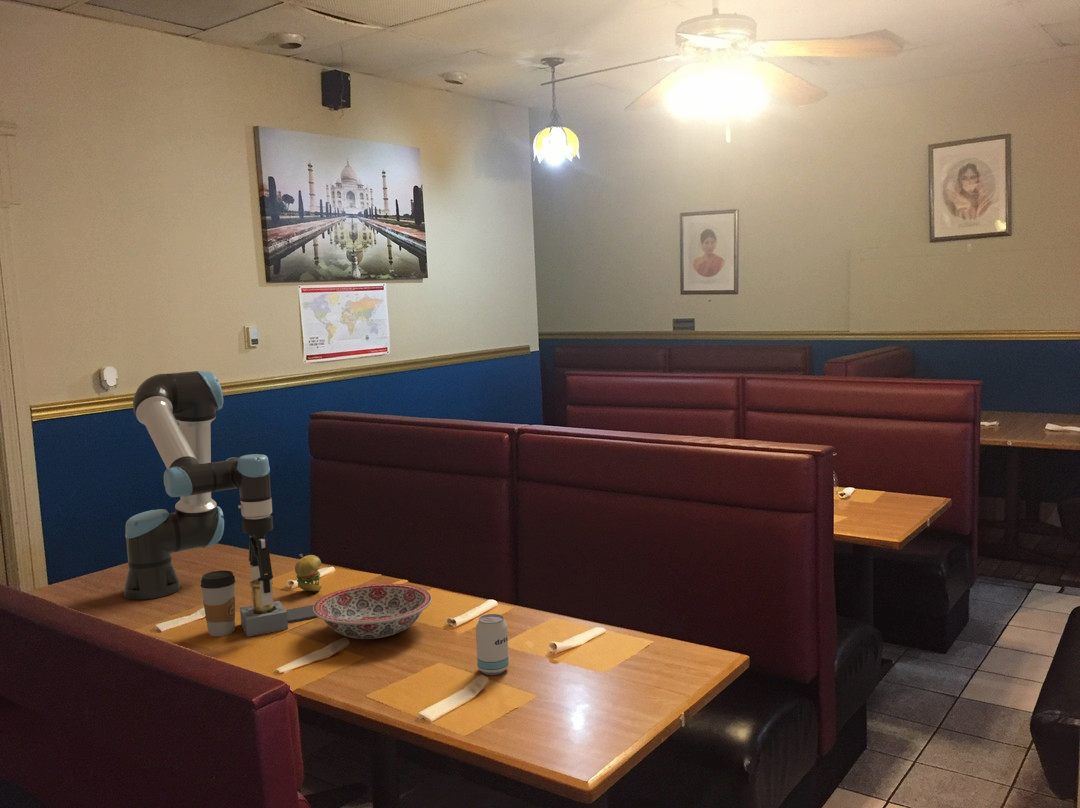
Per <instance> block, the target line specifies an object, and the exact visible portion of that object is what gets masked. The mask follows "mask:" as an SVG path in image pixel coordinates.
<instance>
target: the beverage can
mask: <svg viewBox="0 0 1080 808" xmlns="http://www.w3.org/2000/svg"><path fill="white" fill-rule="evenodd" d="M508 630H509V629H508V624H507V622H506V620H505V617H504V615H502V614H499V613H488V614H483V615H481V616H480V617H478V621H477V624H476V625H475V635H476V637H475V638H476V660H477V661H476V663H477V669H478V670H479V671H480V672H482V673H483V674H485V675H488V676H497V675H500V674H502V673H504V672H505V671H506V670H507V669H508V668H509V666H510V665H509V663H510V659H509V638H508V637H509V634H508V633H509V632H508Z"/></svg>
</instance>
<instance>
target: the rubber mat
mask: <svg viewBox="0 0 1080 808" xmlns="http://www.w3.org/2000/svg"><path fill="white" fill-rule="evenodd" d="M313 606H314V604H311V605H306V606H300V607H293V608H288V609H285V610H286V611H287V620H288V624H290V623H295V622H300V621H306V620H307V621H308V620H311V619H317V618H319V617H317V616H316V615H315V614H314V612H313Z"/></svg>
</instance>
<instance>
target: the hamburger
mask: <svg viewBox="0 0 1080 808" xmlns="http://www.w3.org/2000/svg"><path fill="white" fill-rule="evenodd" d="M299 556H300V557H301V558H300V559H299V560H298V561H297V562H296V563H295V566H294V572H295V574H296V579H297V580H296V582H297V586H298V588H299V589H300V590H304V591H306V592H307V591H308V592H319V591H321V589H322V585H320V579H321V577H320V576H321V572H320V571H319V570H320V568H321V566H322V561H321V559H320V557H319V556H316V555H315V554H314V555H313V554H307V555H305V556H303V553H300V554H299ZM314 582H315V583H314Z"/></svg>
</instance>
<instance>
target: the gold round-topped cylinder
mask: <svg viewBox="0 0 1080 808" xmlns="http://www.w3.org/2000/svg"><path fill="white" fill-rule="evenodd" d="M271 581H272V585H273V584H274V582H273V581H274V580H273V579H271ZM249 586H250V588H251V603H252V606H253V614H259V615H260V614H266V613H271V612H273V611H274V610H273V604H271V605H265V606H262V605H261V592H260V581H258V579H256V580H253V581H252V580H251V581H250V582H249ZM272 596H273V594H272Z"/></svg>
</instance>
